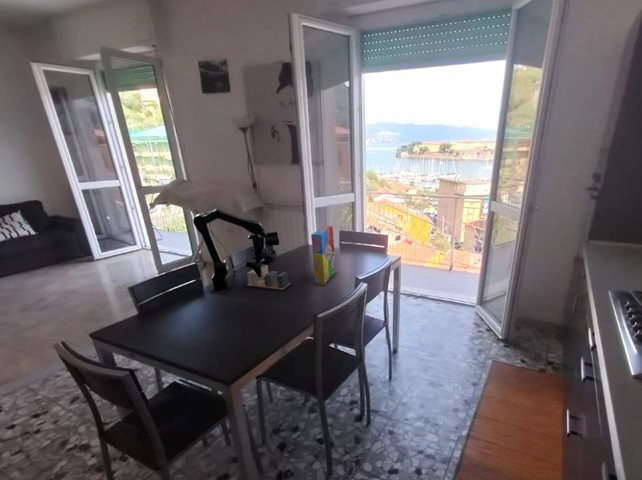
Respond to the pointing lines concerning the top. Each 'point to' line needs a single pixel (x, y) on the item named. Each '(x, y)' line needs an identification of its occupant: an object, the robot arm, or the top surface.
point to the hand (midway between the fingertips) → (263, 275)
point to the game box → (323, 254)
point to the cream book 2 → (263, 272)
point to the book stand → (267, 286)
